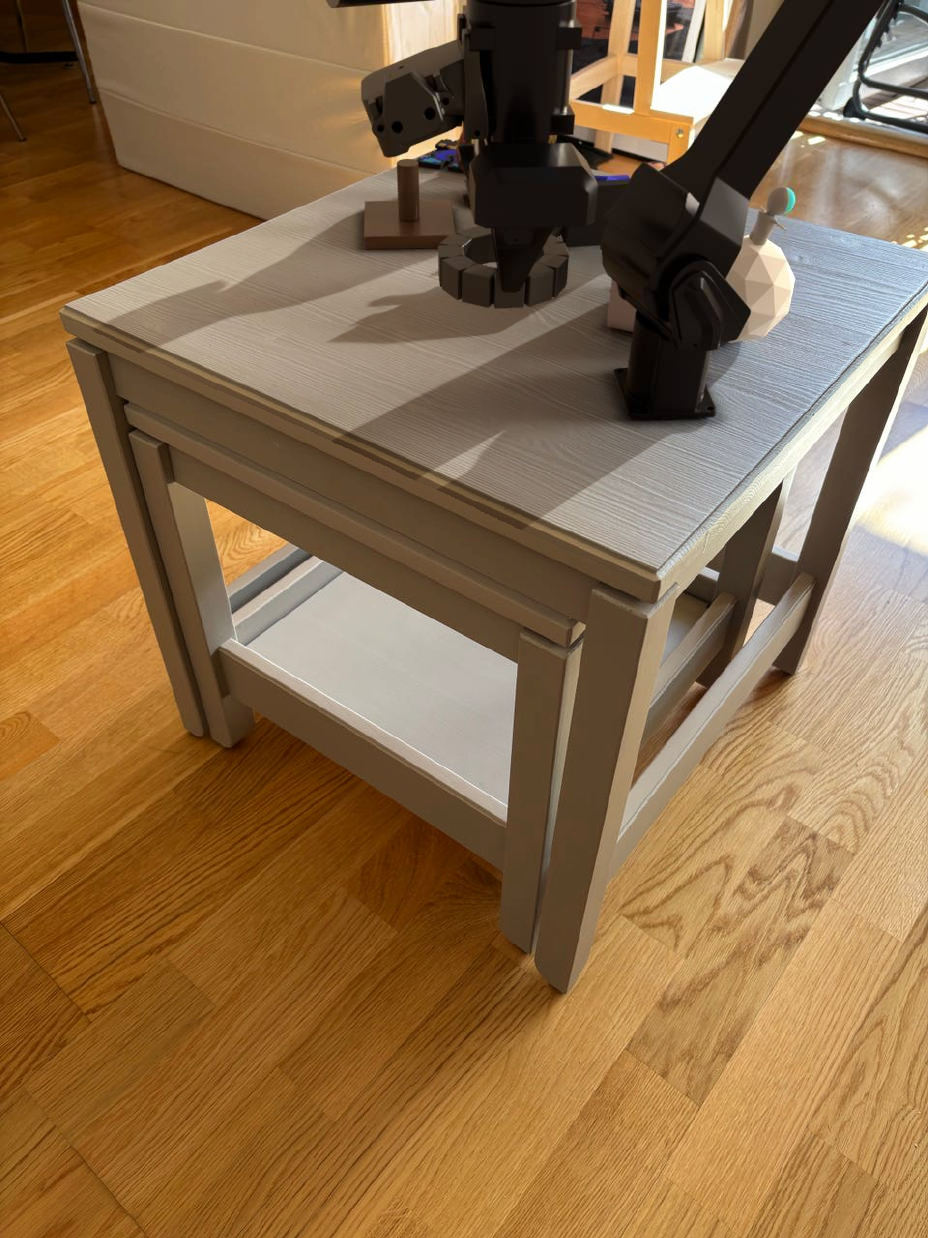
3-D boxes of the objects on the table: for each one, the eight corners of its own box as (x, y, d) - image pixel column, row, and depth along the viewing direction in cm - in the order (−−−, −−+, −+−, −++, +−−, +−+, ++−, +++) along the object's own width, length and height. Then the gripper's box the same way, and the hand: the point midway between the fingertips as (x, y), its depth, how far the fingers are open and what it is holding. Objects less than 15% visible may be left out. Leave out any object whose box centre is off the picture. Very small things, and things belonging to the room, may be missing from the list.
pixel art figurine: (466, 172, 103) (504, 138, 111) (466, 169, 103) (504, 135, 111) (415, 164, 105) (455, 130, 113) (415, 160, 105) (455, 127, 113)
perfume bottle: (777, 370, 77) (863, 223, 69) (690, 352, 74) (770, 197, 66) (738, 322, 82) (813, 181, 74) (655, 303, 79) (724, 155, 71)
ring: (574, 307, 61) (577, 276, 60) (442, 310, 60) (442, 279, 59) (555, 251, 67) (558, 222, 66) (435, 254, 66) (435, 225, 65)
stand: (456, 247, 90) (456, 178, 85) (364, 249, 89) (360, 180, 85) (451, 211, 96) (451, 145, 91) (365, 213, 95) (361, 146, 91)
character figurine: (515, 234, 93) (663, 225, 95) (532, 260, 87) (689, 250, 89) (518, 146, 88) (675, 139, 90) (537, 168, 82) (703, 160, 84)
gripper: (363, -44, 56) (377, 227, 67) (366, 43, 42) (383, 363, 53) (554, -44, 56) (537, 223, 67) (616, 40, 43) (582, 357, 54)
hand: (508, 284), depth 60 cm, fingers closed on ring, 2 cm apart
